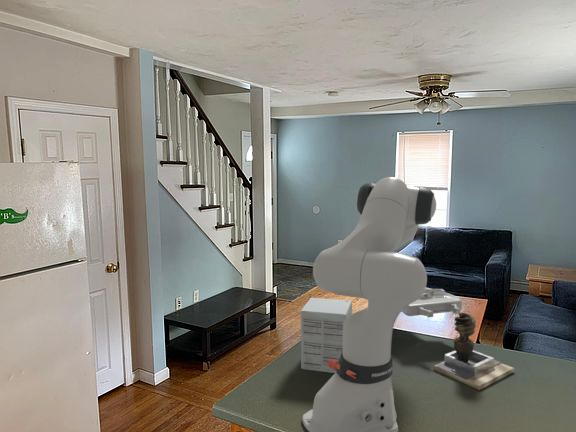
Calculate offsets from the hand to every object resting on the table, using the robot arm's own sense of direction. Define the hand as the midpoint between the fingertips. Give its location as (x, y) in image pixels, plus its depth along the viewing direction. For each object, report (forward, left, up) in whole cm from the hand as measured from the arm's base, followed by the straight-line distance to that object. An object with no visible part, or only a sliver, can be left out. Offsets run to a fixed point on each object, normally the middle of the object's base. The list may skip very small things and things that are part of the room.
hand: (444, 313), depth 134 cm
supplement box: (-34, +16, -13) cm, 40 cm away
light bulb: (-5, -10, -11) cm, 16 cm away
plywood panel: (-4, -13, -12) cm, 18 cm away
